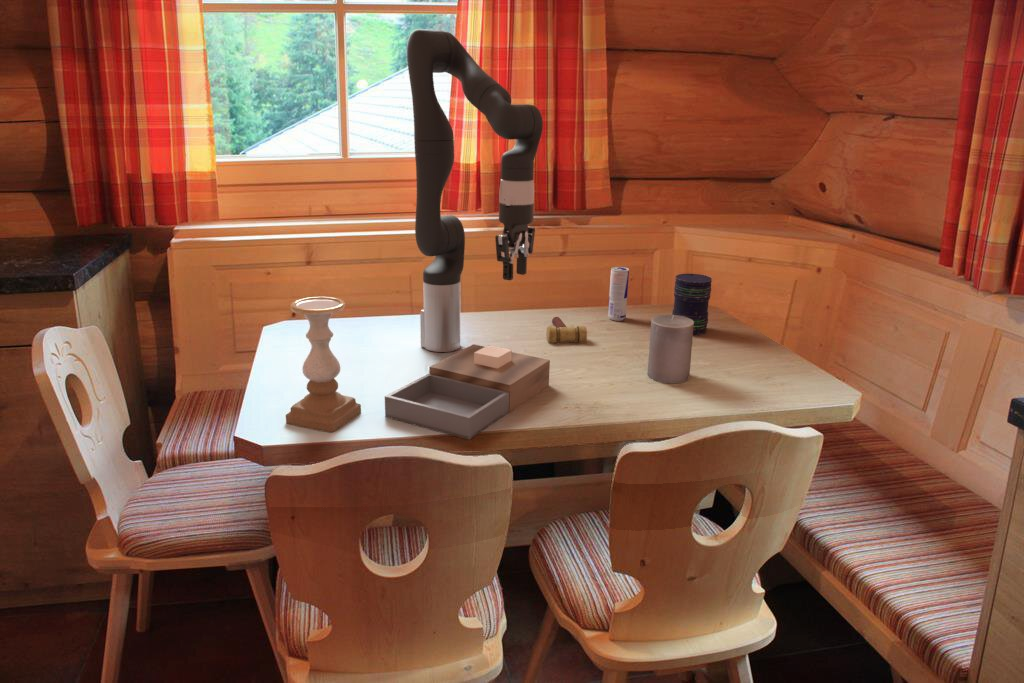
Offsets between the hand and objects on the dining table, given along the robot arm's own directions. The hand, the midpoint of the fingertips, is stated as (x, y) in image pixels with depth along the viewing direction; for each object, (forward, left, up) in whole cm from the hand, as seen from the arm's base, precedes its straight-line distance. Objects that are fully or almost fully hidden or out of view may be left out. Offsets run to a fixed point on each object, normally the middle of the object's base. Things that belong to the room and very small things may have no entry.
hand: (514, 276), depth 178 cm
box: (0, -27, -23) cm, 36 cm away
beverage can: (+3, +56, -24) cm, 61 cm away
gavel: (-5, +36, -24) cm, 44 cm away
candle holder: (-20, -41, -24) cm, 52 cm away
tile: (0, -9, -17) cm, 20 cm away
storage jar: (+24, +57, -24) cm, 66 cm away
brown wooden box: (0, -10, -23) cm, 26 cm away
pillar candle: (+31, +19, -24) cm, 43 cm away
